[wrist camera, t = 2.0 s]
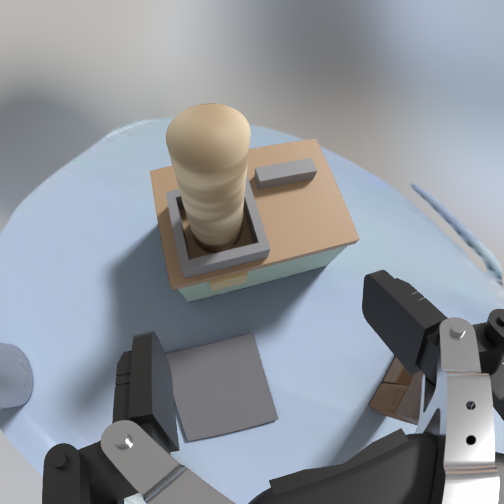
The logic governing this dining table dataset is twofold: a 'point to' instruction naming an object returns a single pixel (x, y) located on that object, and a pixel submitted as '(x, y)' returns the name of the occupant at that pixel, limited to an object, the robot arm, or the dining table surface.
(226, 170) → the tan ridged cylinder
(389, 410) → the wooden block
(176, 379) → the charcoal mat
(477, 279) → the dining table surface
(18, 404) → the robot arm
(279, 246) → the pale green box
